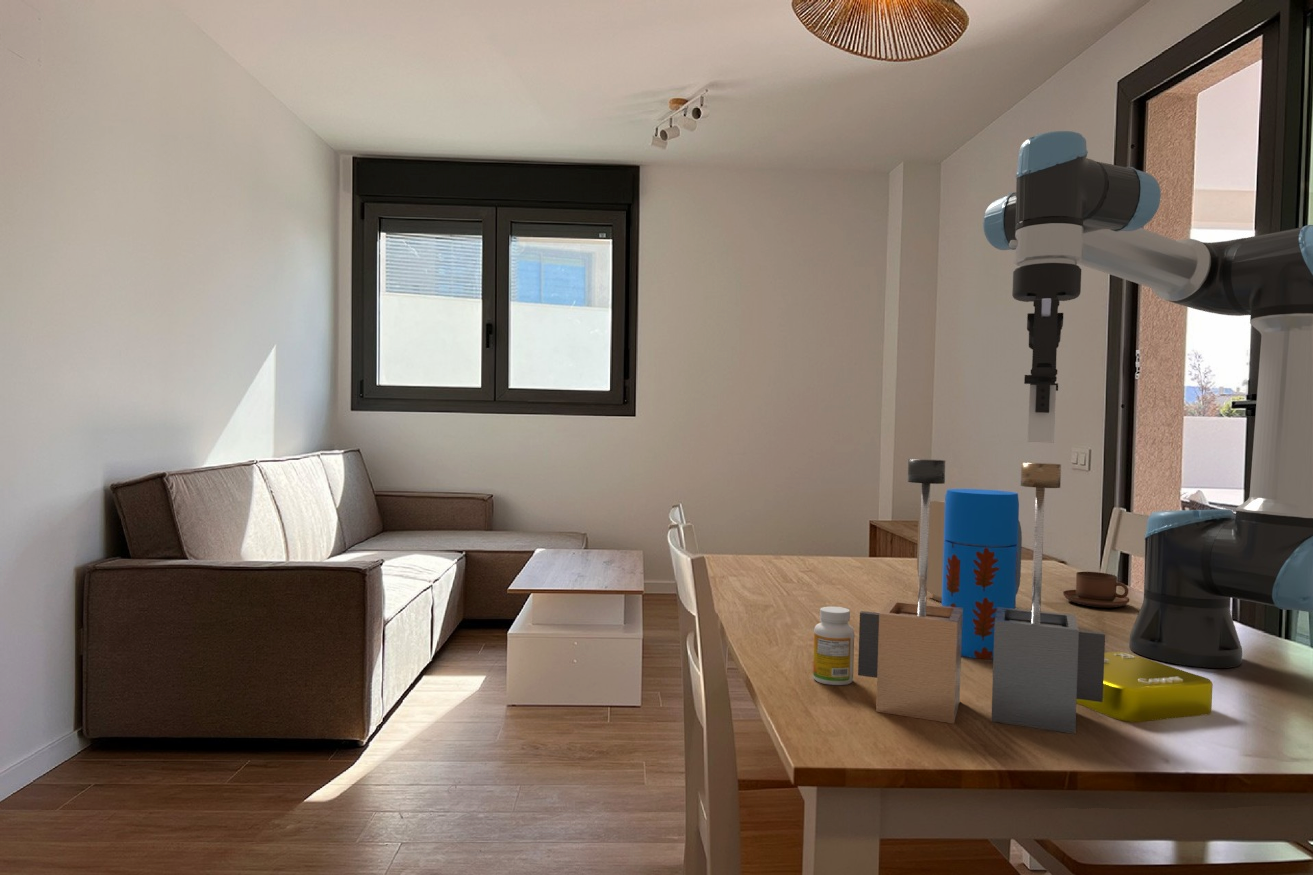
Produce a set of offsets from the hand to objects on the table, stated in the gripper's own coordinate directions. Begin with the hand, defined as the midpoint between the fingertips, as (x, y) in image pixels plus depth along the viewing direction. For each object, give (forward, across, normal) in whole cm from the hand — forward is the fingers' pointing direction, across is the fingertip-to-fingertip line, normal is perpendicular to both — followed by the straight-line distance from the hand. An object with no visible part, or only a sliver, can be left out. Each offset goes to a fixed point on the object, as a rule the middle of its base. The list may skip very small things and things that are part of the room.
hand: (1039, 442), depth 104 cm
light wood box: (+34, +3, -14) cm, 36 cm away
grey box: (+33, 0, +2) cm, 33 cm away
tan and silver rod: (+23, 0, 0) cm, 23 cm away
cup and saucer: (+33, -81, +12) cm, 89 cm away
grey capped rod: (+24, +3, -13) cm, 27 cm away
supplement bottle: (+34, -3, -25) cm, 42 cm away
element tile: (+34, -14, +11) cm, 38 cm away
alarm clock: (+33, -67, -12) cm, 76 cm away
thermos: (+34, -30, -8) cm, 46 cm away
